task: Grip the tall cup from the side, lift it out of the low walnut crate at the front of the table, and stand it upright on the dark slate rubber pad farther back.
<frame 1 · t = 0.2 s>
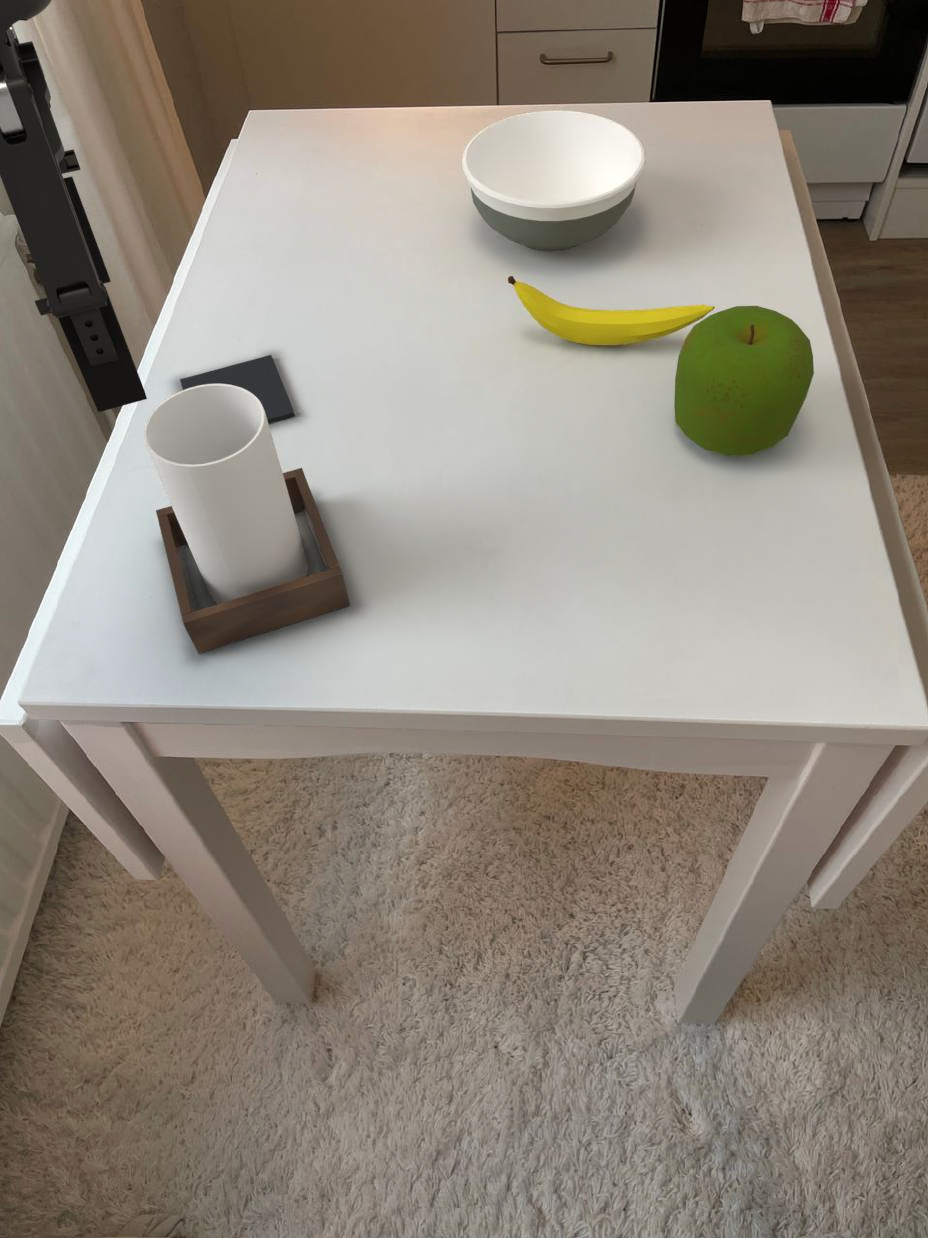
hand: (104, 339, 57), 24 cm above the table, tool pointing down, fingers open, 13 cm apart
banana: (605, 344, 92), on the table
cup: (258, 574, 77), resting in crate
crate: (257, 573, 77), on the table
apple: (730, 428, 84), on the table
pad: (237, 399, 90), on the table
bowl: (551, 230, 104), on the table
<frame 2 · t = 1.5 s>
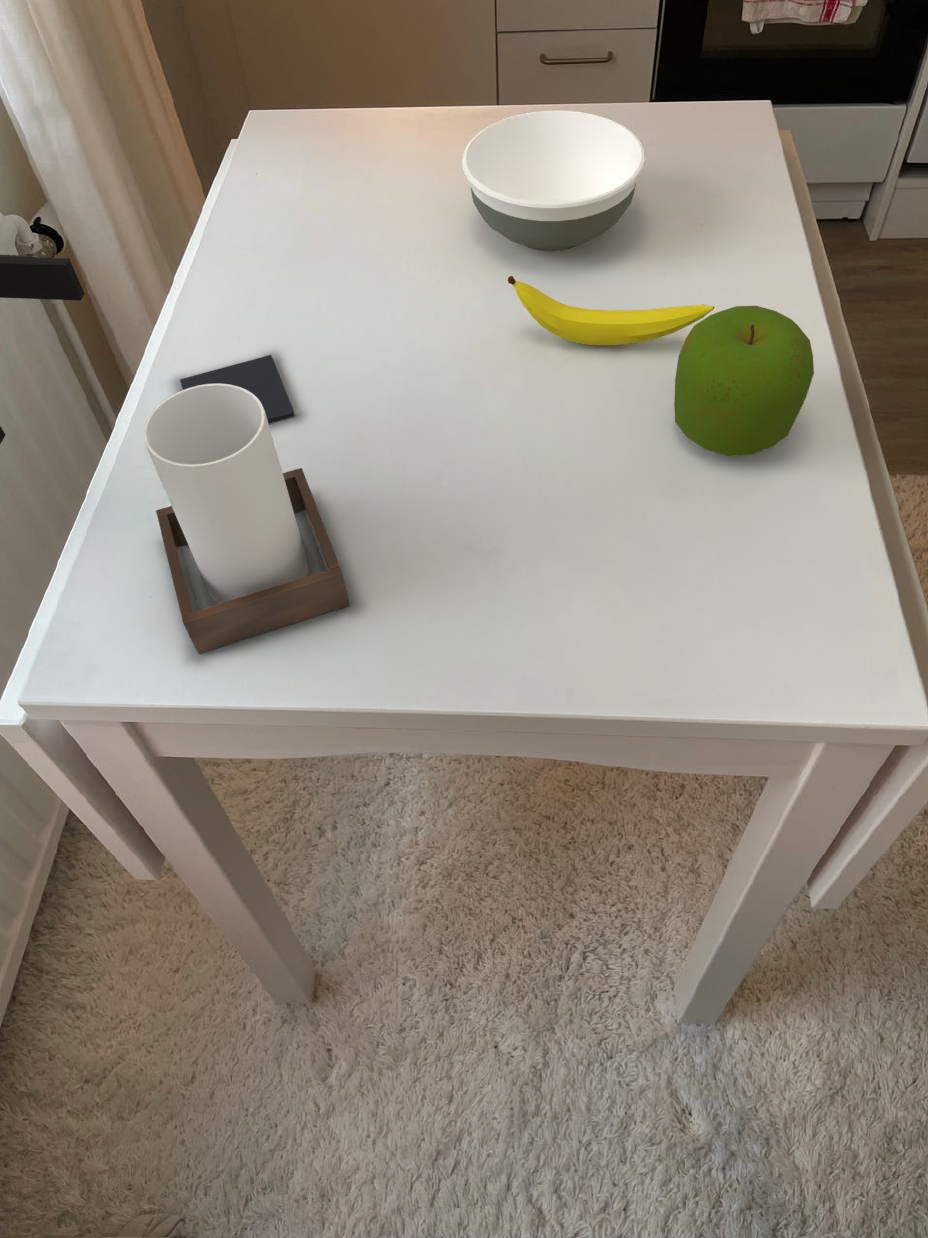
hand: (37, 346, 59), 22 cm above the table, tool horizontal, fingers open, 13 cm apart
nothing on the table moved.
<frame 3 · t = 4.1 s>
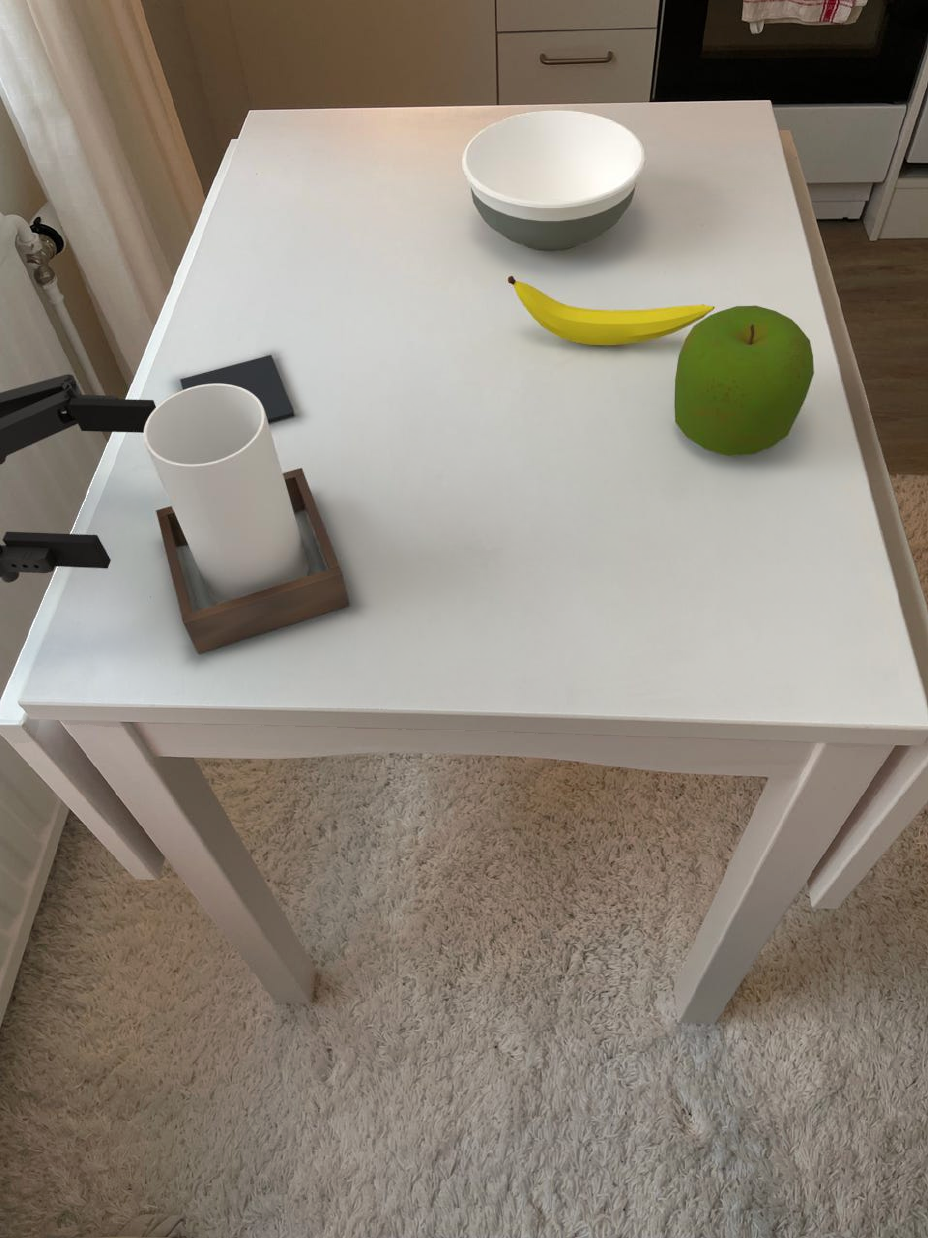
hand: (132, 480, 70), 10 cm above the table, tool horizontal, fingers open, 13 cm apart
nothing on the table moved.
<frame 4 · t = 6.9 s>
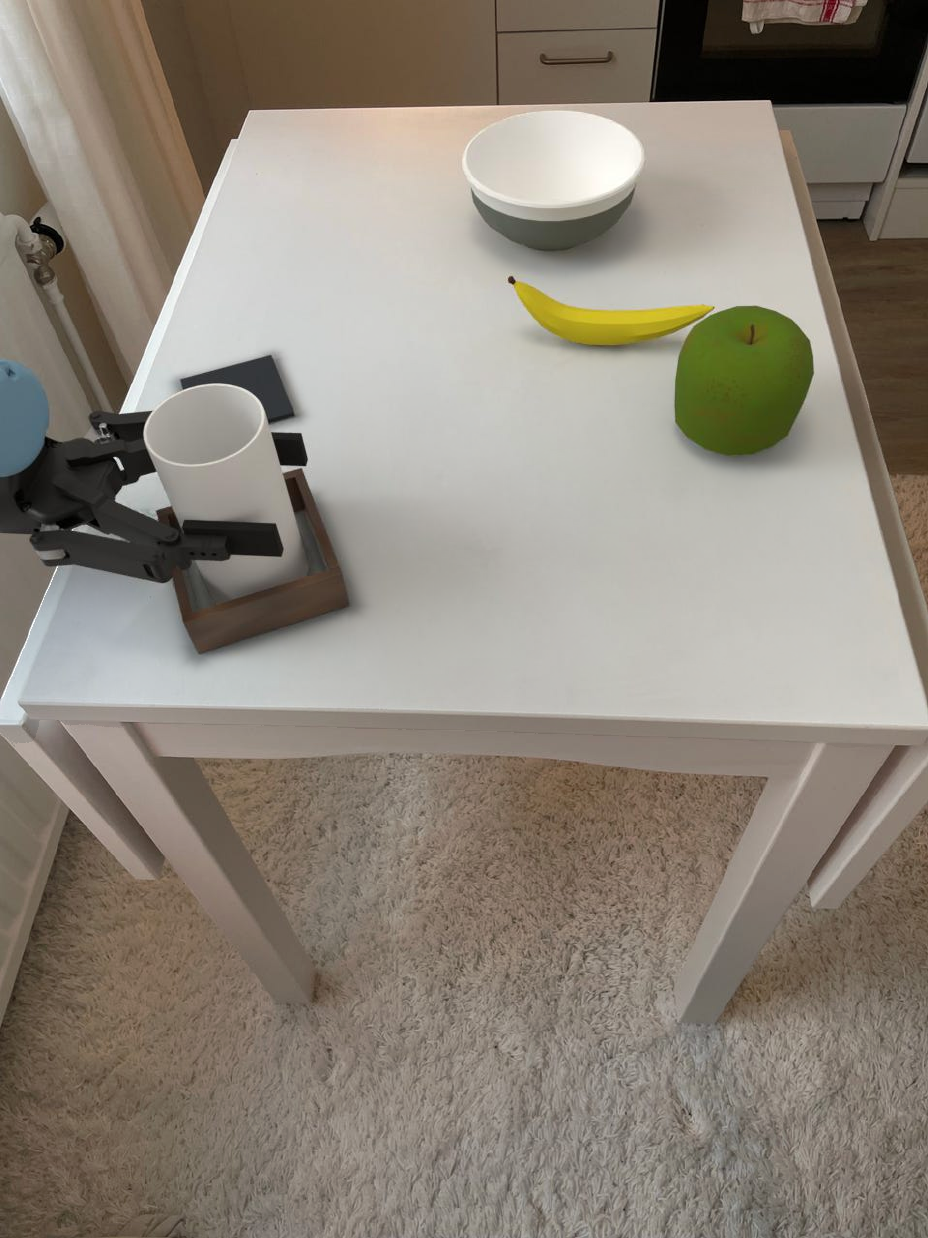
hand: (291, 493, 69), 10 cm above the table, tool horizontal, fingers closed on cup, 8 cm apart
cup: (258, 574, 77), resting in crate, touching gripper
everything else where it was.
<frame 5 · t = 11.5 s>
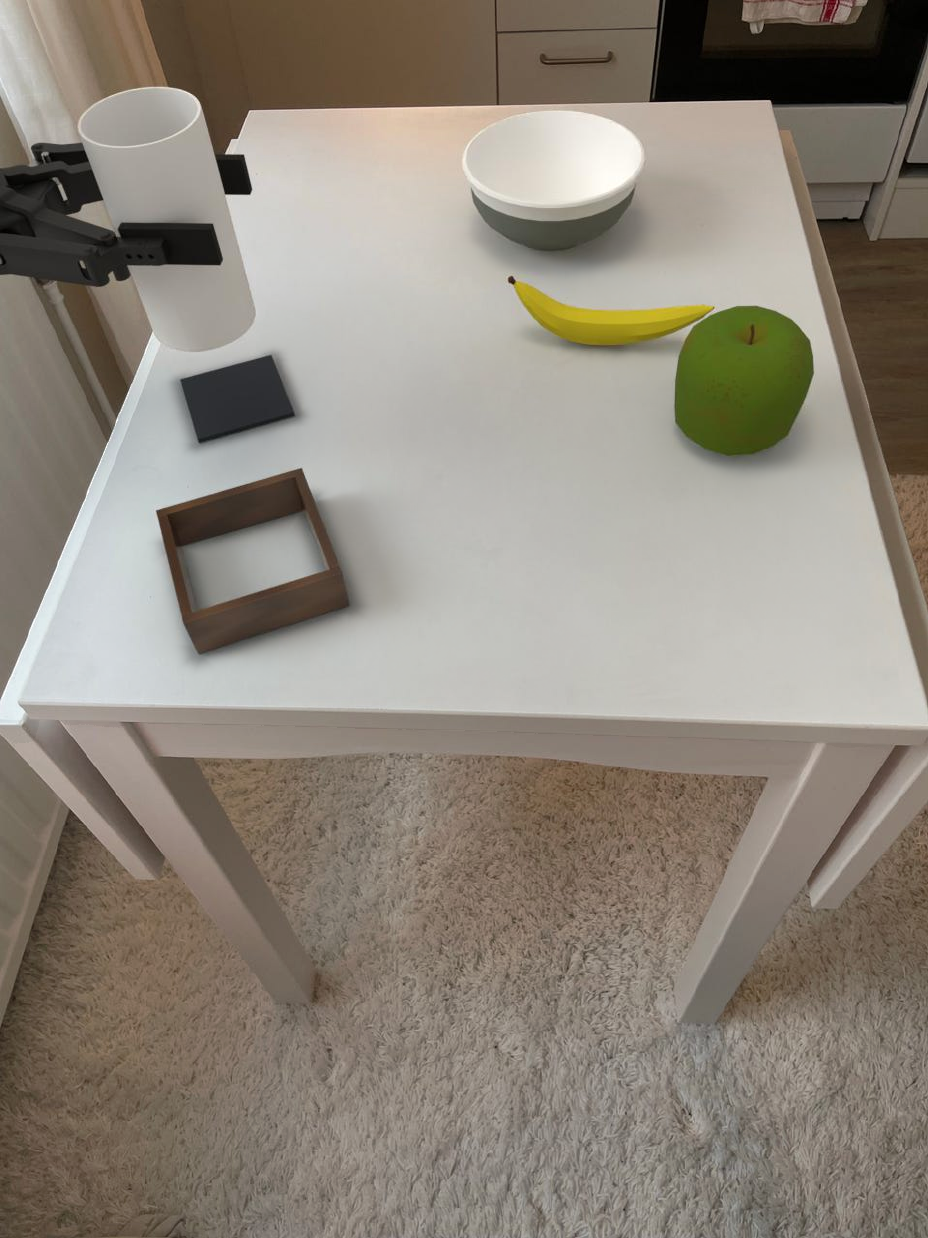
hand: (232, 208, 68), 22 cm above the table, tool horizontal, fingers closed on cup, 8 cm apart
cup: (205, 321, 76), point 13 cm above the table, touching gripper
everything else where it was.
when the fingers open (10 cm above the table, at t = 16.0 s): cup stays where it is, resting on pad.
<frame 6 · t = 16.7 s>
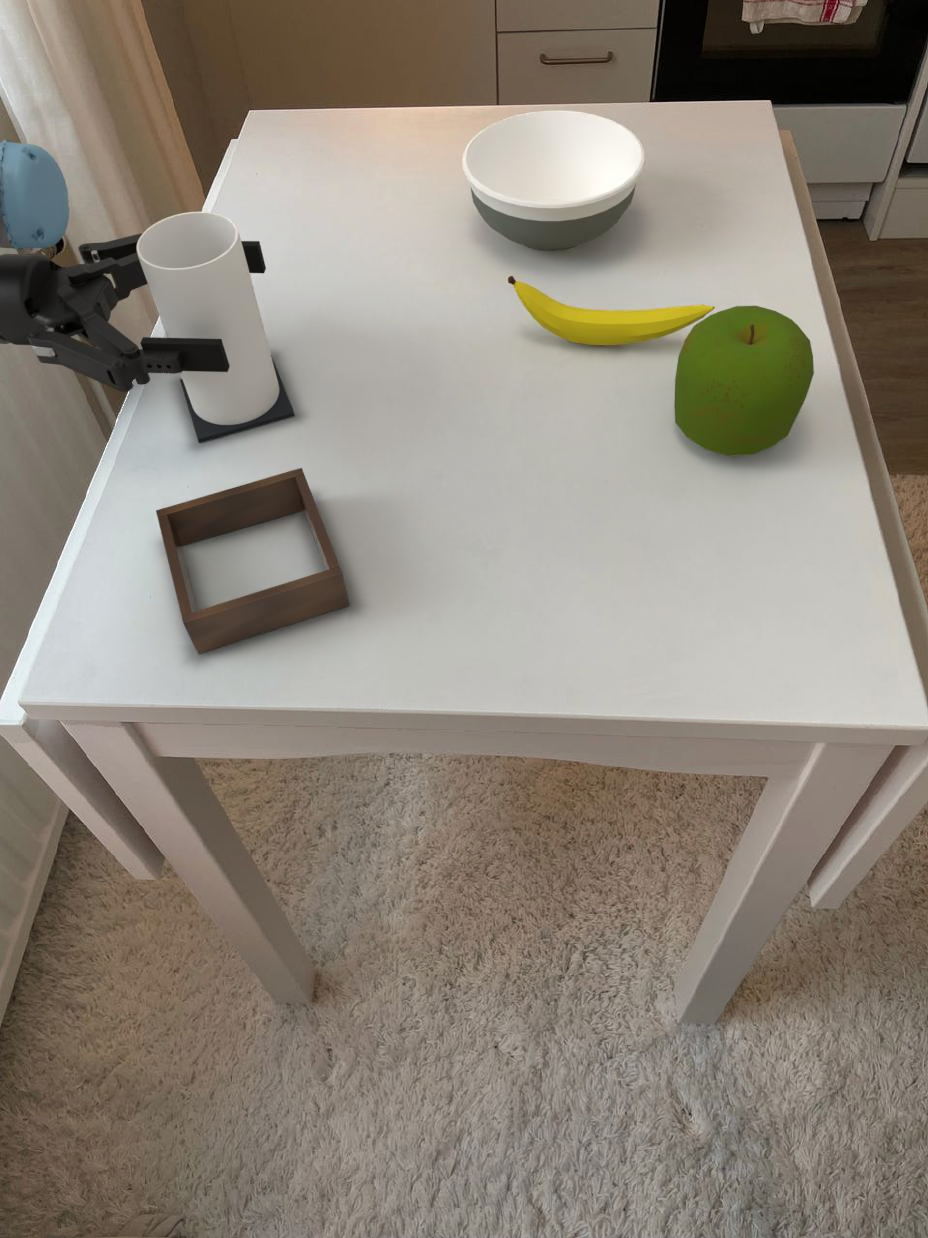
hand: (244, 303, 81), 11 cm above the table, tool horizontal, fingers open, 13 cm apart
cup: (236, 396, 89), resting on pad
everything else where it was.
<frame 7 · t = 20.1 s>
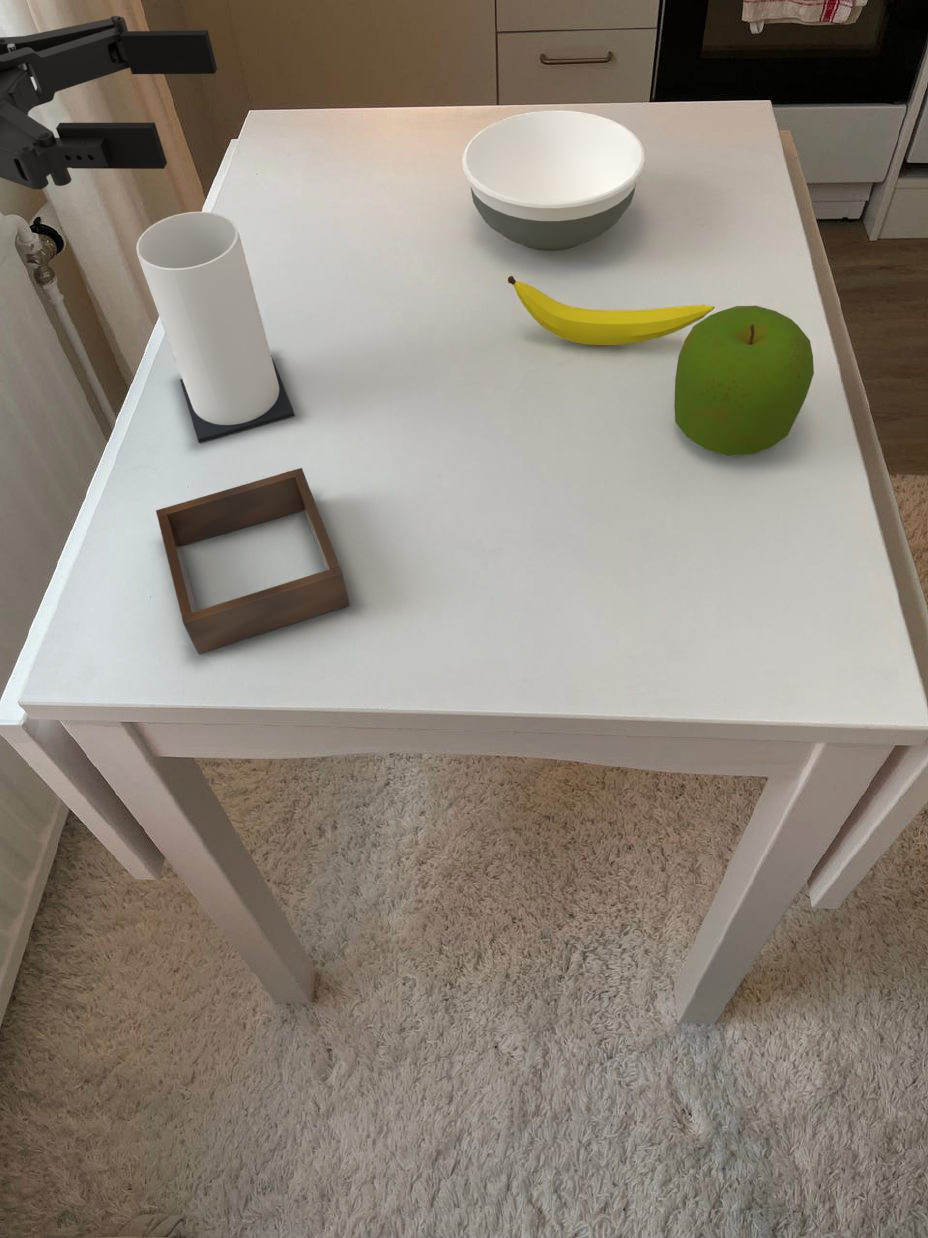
hand: (187, 96, 67), 28 cm above the table, tool horizontal, fingers open, 13 cm apart
nothing on the table moved.
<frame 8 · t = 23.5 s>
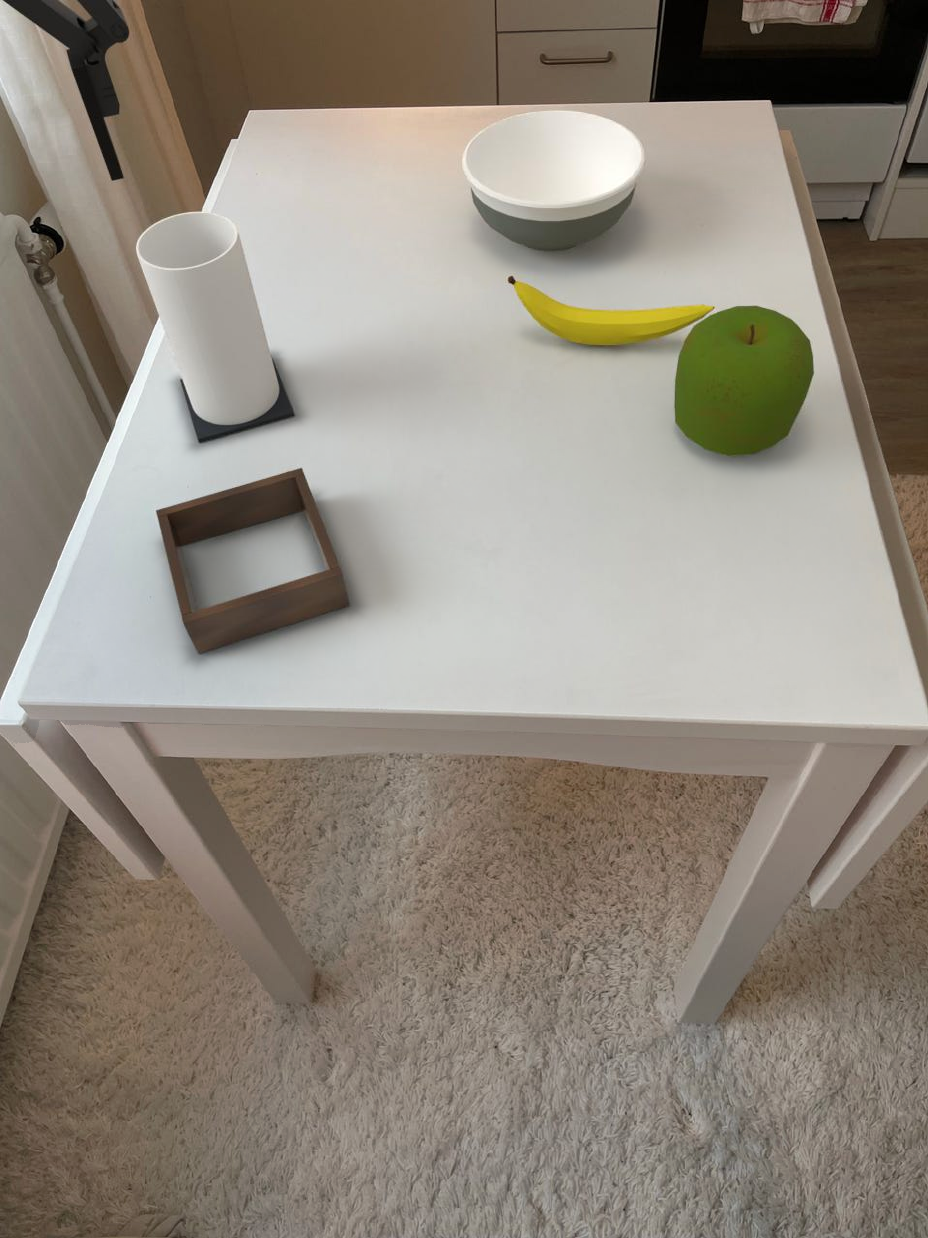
hand: (4, 195, 58), 29 cm above the table, tool pointing down, fingers open, 13 cm apart
nothing on the table moved.
at the end: cup inside the target area on the pad (0.0 cm from its centre), point 0.3 cm above the pad's base; cup tilted 0°; the gripper is holding nothing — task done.
